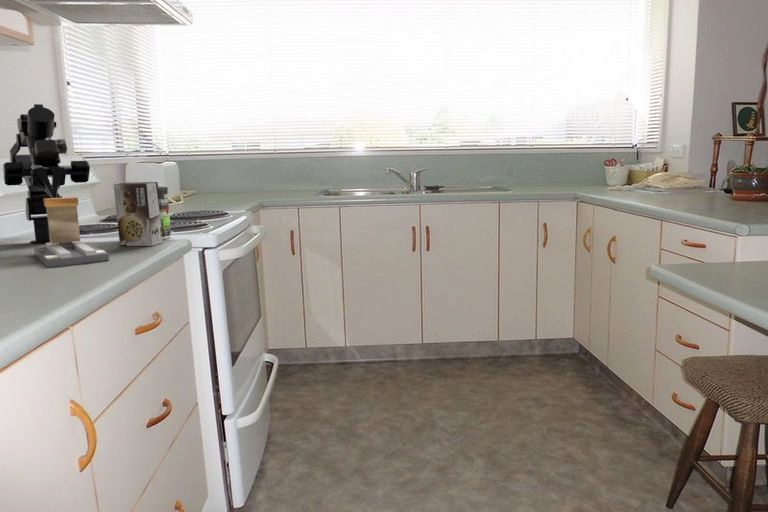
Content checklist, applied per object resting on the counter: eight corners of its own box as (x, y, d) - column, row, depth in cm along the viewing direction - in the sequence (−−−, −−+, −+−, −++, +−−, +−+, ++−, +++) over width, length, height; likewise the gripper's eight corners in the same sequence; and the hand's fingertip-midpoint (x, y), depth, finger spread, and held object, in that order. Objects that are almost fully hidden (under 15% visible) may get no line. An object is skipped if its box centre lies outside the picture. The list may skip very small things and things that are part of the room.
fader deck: (34, 254, 142) (33, 244, 142) (89, 249, 149) (88, 239, 149) (48, 267, 127) (47, 255, 126) (109, 260, 134) (108, 249, 133)
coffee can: (176, 235, 172) (173, 186, 170) (163, 240, 162) (159, 188, 159) (141, 235, 172) (137, 186, 170) (125, 241, 162) (120, 189, 160)
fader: (48, 247, 141) (43, 198, 139) (79, 244, 145) (74, 197, 143) (51, 249, 138) (45, 199, 136) (82, 246, 142) (77, 197, 140)
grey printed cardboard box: (163, 242, 159) (159, 181, 156) (152, 246, 153) (147, 183, 150) (131, 242, 160) (125, 181, 157) (118, 246, 154) (112, 183, 151)
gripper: (-2, 128, 142) (9, 176, 135) (84, 128, 153) (98, 173, 146) (-1, 161, 150) (10, 208, 143) (81, 159, 161) (94, 203, 154)
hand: (54, 197), depth 146 cm, fingers closed
